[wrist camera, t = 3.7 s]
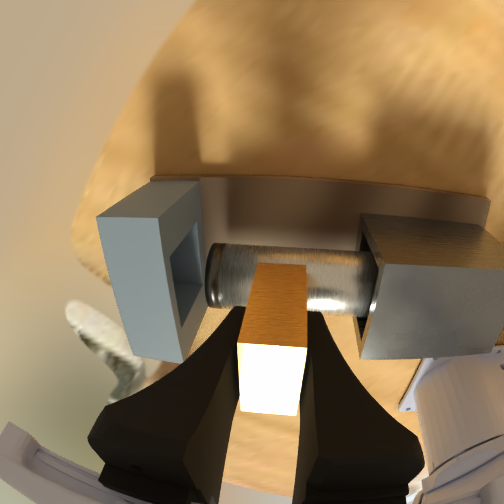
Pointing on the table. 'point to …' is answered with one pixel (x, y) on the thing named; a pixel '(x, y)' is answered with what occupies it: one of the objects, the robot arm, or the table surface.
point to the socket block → (157, 266)
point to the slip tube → (283, 309)
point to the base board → (314, 208)
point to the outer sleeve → (430, 288)
